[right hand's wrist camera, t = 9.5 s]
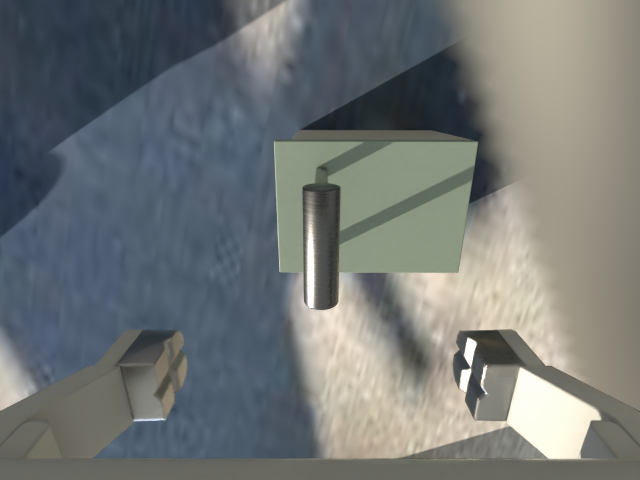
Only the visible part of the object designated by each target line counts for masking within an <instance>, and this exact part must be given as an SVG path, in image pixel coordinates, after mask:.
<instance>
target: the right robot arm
mask: <svg viewBox="0 0 640 480" xmlns="http://www.w3.org/2000/svg"><path fill="white" fill-rule="evenodd" d="M183 343H184V340H183V335H182V333H181V332H180V331H179V330H127V331H124V332H123V334H122V335H121V336H120V337H119V338H118V339H117V340H116V342H115V343H114V344H113V345H112V346H111V347H110V349H109V350H108V351H107V352H106V353H105V354H104V355H103V357H102V358H101V359H100V360H99V361H98V362H97V363H96V365H95V366H88V367H86V368H84V369H82V370H80V371H78V372H76V373H74V374H72V375H70V376H68V377H66V378H64V379H62V380H60V381H58V382H56V383H54V384H52V385H51V386H49V387H47V388H45V389H43V390H41V391H39V392H37V393H35V394H33V395H31V396H29V397H27V398H25V399H23V400H21V401H19V402H17V403H15V404H13V405H11V406H9V407H7V408H6V409H4V410H2V411H0V480H640V411H638V410H636V409H634V408H632V407H630V406H628V405H626V404H625V403H623V402H621V401H619V400H617V399H615V398H613V397H611V396H609V395H607V394H605V393H603V392H601V391H599V390H597V389H595V388H593V387H591V386H589V385H587V384H585V383H584V382H582V381H580V380H578V379H576V378H574V377H572V376H570V375H568V374H566V373H564V372H562V371H560V370H558V369H556V368H554V367H552V366H545V365H544V363H543V362H542V361H541V360H540V359H539V358H538V357H537V355H536V354H535V353H534V352H533V351H532V350H531V349H530V347H529V346H528V345H527V344H526V343H525V342H524V341H523V339H522V338H521V337H520V336H519V335H518V334H517V332H516V331H514V330H512V329H505V330H477V331H459V333H458V335H457V340H456V343H457V345H458V347H459V349H460V350H459V351H458V352H457V353H456V354H455V355H454V359H453V373H454V378H455V381H456V383H457V386H458V388H459V389H460V390H462V391H463V392H464V393H466V397H465V402H466V404H467V406H468V408H469V410H470V412H471V414H472V416H473V418H474V420H485V421H507V422H506V423H507V424H509V425H510V426H511V427H512V428H513V429H514V430H516V431H517V432H518V433H519V434H520V435H521V436H523V437H524V438H525V439H526V440H527V441H528V442H530V443H531V444H532V445H533V446H534V447H536V448H537V449H538V450H539V451H540V452H541V453H543V454H544V455H545V456H546V457H547V458H548V459H280V458H262V459H100V458H93V457H94V456H95V455H96V454H98V453H99V452H100V451H101V450H102V449H103V448H105V447H106V446H107V445H108V444H109V443H110V442H112V441H113V440H114V439H115V438H116V437H118V436H119V435H120V434H121V433H122V432H123V431H125V430H126V429H127V428H128V427H129V426H130V425H132V424H133V423H134V422H133V421H154V420H166V418H167V416H168V414H169V412H170V410H171V408H172V406H173V404H174V402H175V397H174V393H176V392H177V391H178V390H180V389H181V388H182V386H183V383H184V381H185V377H186V373H187V358H186V355H185V354H184V353H183V352H182V351H181V350H180V349H181V347H182V345H183Z"/></svg>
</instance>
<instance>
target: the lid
mask: <svg viewBox="0 0 640 480" xmlns="http://www.w3.org/2000/svg"><path fill="white" fill-rule="evenodd" d="M477 148H478V141H474V140H307V139H277V140H275V141H274V152H275V175H276V199H277V222H278V245H279V269H280V272H304V302H305V304H306V305H307V306H308V307H310V308H312V309H316V310H326V309H330V308H333V307H334V306H336V305H337V303H338V288H339V272H384V273H458V270H459V264H460V257H461V251H462V244H463V238H464V231H465V225H466V218H467V212H468V206H469V199H470V193H471V186H472V180H473V173H474V167H475V160H476V154H477Z"/></svg>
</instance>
